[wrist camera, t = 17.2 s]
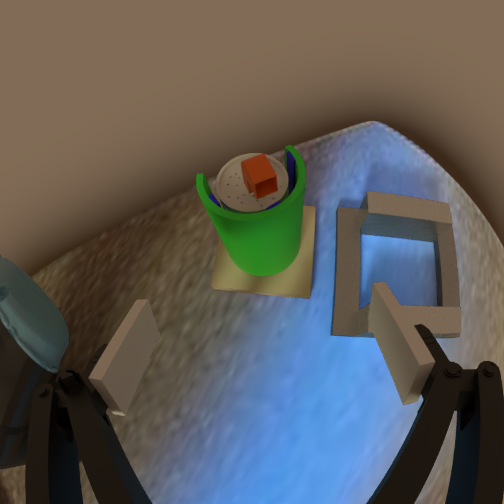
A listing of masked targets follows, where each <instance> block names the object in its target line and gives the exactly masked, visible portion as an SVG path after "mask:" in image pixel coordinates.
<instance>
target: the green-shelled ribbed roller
mask: <svg viewBox="0 0 504 504" xmlns="http://www.w3.org/2000/svg"><path fill="white" fill-rule="evenodd" d="M305 178H306V170H305V165H304V162H303V159H302V157H301V155H300V154H299V153H298V151H297V150H296V149H295V148H294V147H293V146H292V145H288V146H286V147H285V167H284V166H283V165H282V163H281V162H279V161H278V160H277V159H275V158H274V157H271V156H269V155H266V154H264V153H263V154H261V153H250V154H244V155H241V156H238V157H236V158H234V159H232V160H230V161H229V162H228V163H226V164H225V165H224V166H223V168H222V169H221V170H220V172H219V174H218V176H217V179H216V191H217V194H218V196H219V199H220V201H221V204H222V206H223V209H222V208H221V206H220V204H219V202H218V201H217V199H216V198H215V197H214V195H213V194H212V192H211V190H210V187H209V185H208V183H207V180H206V178H205V176H204V174H203V173H201V174H197V176H196V187H197V191H198V194H199V196H200V198H201V200H202V202H203V204H204V206H205V208H206V210H207V212H208V214H209V216H210V218H211V220H212V222H213V224H214V226H215V228H216V230H217V232H218V234H219V236H220V238H221V240H222V241H223V243H224V245H225V247H226V249H227V251H228V253H229V255H230V257H231V259H232V260H233V262H234V263H235V264H236V265H237V266H238V267H239V268H240V269H241V270H243V271H244V272H246V273H249V274H252V275H256V276H270V275H274V274H277V273H279V272H281V271H283V270H285V269H286V268H287V267H289V266H290V265H291V264H292V263H293V261H294V260H295V258H296V257H297V255H298V252H299V249H300V241H301V230H302V218H303V206H304V193H305Z"/></svg>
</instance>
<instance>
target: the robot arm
mask: <svg viewBox="0 0 504 504" xmlns="http://www.w3.org/2000/svg"><path fill="white" fill-rule="evenodd" d="M368 323H369V325H370V327H371V329H372V332H373V334H374V336H375V338H376V340H377V343H378V345H379V347H380V350H381V352H382V354H383V357H384V359H385V361H386V364H387V366H388V368H389V371H390V373H391V376H392V378H393V381H394V383H395V386H396V388H397V391H398V393H399V396H400V398H401V401H402V403H403V405H406V404H410V403H413V402H417V401H418V399H419V397H420V395H422V397H423V399H424V401H423V403H422V404H421V406H420V408H419V410H418V412H417V413H418V414H417V416H416V418H415V420H414V423H413V425H412V427H411V429H410V431H409V433H408V435H407V437H406V439H405V441H404V443H403V445H402V447H401V448H400V450H399V452H398V454H397V456H396V458H395V459H394V461H393V463H392V465H391V466H390V468H389V470H388V471H387V473H386V475H385V476H384V478H383V479H382V481H381V483H380V484H379V486H378V487H377V489H376V490H375V492H374V493H373V495H372V496H371V498H370V499H369V500H368V502H367V503H366V504H414V503H415V501H416V499H417V497H418V496H419V494H420V492H421V490H422V488H423V486H424V484H425V482H426V480H427V478H428V476H429V474H430V472H431V470H432V468H433V465H434V463H435V461H436V459H437V456H438V454H439V451H440V449H441V446H442V444H443V441H444V439H445V436H446V433H447V431H448V428H449V425H450V422H451V419H452V416H453V413H454V411H457V426H456V439H455V449H454V457H453V464H452V471H451V477H450V483H449V488H448V493H447V497H446V502H445V504H502V500H503V493H504V396H503V387H502V380H501V374H500V370H499V367H498V366H497V365H496V364H495V363H493V362H490V361H483V362H482V363H480V364H479V366H478V368H477V369H466V370H465V369H462V367H461V366H460V365H459V364H457V363H455V362H450V361H449V360H448V358H447V356H446V355H445V353H444V351H443V350H442V348H441V347H440V345H439V344H438V343H437V340H436V339H435V337H433V334H432V333H431V331H430V330H429V329H428V328H427V327H426V326H424V325H423V324H418V325H413V324H412V322H411V320H410V319H409V317H408V316H407V314H406V313H405V311H404V309H403V308H402V306H401V305H400V303H399V302H398V300H397V299H396V297H395V296H394V294H393V293H392V291H391V290H390V288H389V287H388V286H387V284H386V283H385V281H384V282H376V283H373V285H372V294H371V302H370V309H369V317H368ZM159 336H160V333H159V331H158V328H157V325H156V322H155V319H154V316H153V314H152V311H151V308H150V305H149V302H148V299H143V300H136V302H135V303H134V305H133V306H132V308H131V309H130V311H129V312H128V314H127V315H126V317H125V319H124V320H123V322H122V323H121V325H120V326H119V328H118V330H117V331H116V333H115V334H114V336H113V338H112V339H111V341H110V342H109V344H104V345H102V346H101V347H100V348H99V349H98V350H97V352H96V353H95V355H94V357H93V358H92V360H91V363H89V365H88V366H87V368H86V369H85V371H84V373H83V374H82V376H80V375H79V373H78V372H77V370H76V369H74V368H68V369H65V370H63V371H61V372H60V373H59V374H54V373H55V372H57V371H58V370H59V366H60V361H61V359H62V357H63V355H64V353H65V351H66V349H67V346H68V343H69V330H68V327H67V324H66V322H65V319H64V318H63V316H62V314H61V313H60V311H59V310H58V308H57V307H56V305H55V304H54V303H53V302H52V300H51V299H50V298H49V297H48V296H47V294H46V293H45V292H44V291H43V290H42V289H41V288H40V287H39V286H38V285H37V284H36V283H35V282H34V281H33V280H32V279H31V278H30V277H29V276H28V275H27V274H26V273H25V272H24V271H23V270H22V269H20V268H19V267H18V266H17V265H15V264H14V263H13V262H11V261H10V260H8V259H6V258H3V257H2V256H1V255H0V469H6V468H11V467H16V466H21V465H26V476H25V490H26V504H83V498H82V490H81V482H80V472H79V462H81V461H82V462H83V465H84V468H85V471H86V474H87V476H88V479H89V482H90V484H91V487H92V489H93V492H94V494H95V496H96V499H97V501H98V503H99V504H152V502H151V501H150V499H149V497H148V496H147V494H146V492H145V491H144V489H143V487H142V485H141V484H140V482H139V480H138V478H137V476H136V475H135V473H134V471H133V469H132V467H131V465H130V463H129V461H128V459H127V457H126V455H125V453H124V451H123V449H122V447H121V444H120V442H119V440H118V438H117V436H116V433H115V431H114V429H113V426H112V424H111V422H110V419H109V417H108V415H107V414H106V410H107V408H109V409H110V410H111V412H112V413H113V414H117V415H122V416H126V413H127V411H128V409H129V406H130V404H131V401H132V399H133V396H134V394H135V391H136V389H137V387H138V384H139V382H140V380H141V377H142V375H143V372H144V370H145V368H146V366H147V363H148V361H149V359H150V356H151V354H152V352H153V350H154V347H155V345H156V343H157V341H158V338H159Z"/></svg>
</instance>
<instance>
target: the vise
mask: <svg viewBox="0 0 504 504" xmlns="http://www.w3.org/2000/svg"><path fill="white" fill-rule="evenodd" d="M452 224H453V223H452V217H451V212H450V206H449V203H444V202H439V201H433V200H427V199H421V198H415V197H408V196H402V195H395V194H388V193H381V192H373V191H367V192H366V194H365V197H364V199H363V201H362V204H361V206H360V208H359V209H356V208H346V207H337V211H336V251H335V277H334V295H333V310H332V322H331V334H330V335H331V336H348V337H369V338H375V336H374V334H373V332H372V329H371V327H370V325H369V323H368V317H369V309H370V303H369V304H368V305H366V306H365V307H364V308H362V309H361V310H359V297H360V234H365V235H374V236H384V237H393V238H402V239H411V240H420V241H428V242H434V252H435V263H436V278H437V306H438V307H435V306H409V305H401V306H402V308H403V309H404V311H405V313H406V314H407V316H408V317H409V319H410V320H411V322H412V324H413V325H418V324H423V325H424V326H426V327H427V328H428V329H429V330H430V331H431V333H432V334H433V337H435V338H456V337H460V333H461V307H460V298H459V281H458V268H457V258H456V250H455V242H454V235H453V229H452Z"/></svg>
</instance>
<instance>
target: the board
mask: <svg viewBox="0 0 504 504" xmlns="http://www.w3.org/2000/svg"><path fill="white" fill-rule="evenodd" d="M315 209H316V206H303V218H302V230H301V241H300V249H299V252H298V255H297V257H296V258H295V260H294V261H293V263H292V264H291V265H290V266H289V267H287V268H286V269H285V270H283V271H281V272H279V273H277V274H274V275H270V276H256V275H252V274H249V273H246V272H244V271H243V270H241V269H240V268H239V267H238V266H237V265H236V264H235V263H234V262H233V260H232V259H231V257H230V255H229V253H228V251H227V249H226V247H225V245H224V243H223V241H222V240H221V238H220V237H219V243H218V248H217V253H216V259H215V264H214V270H213V275H212V281H211V287H212V288H213V289H219V290H228V291H236V292H245V293H254V294H264V295H274V296H284V297H295V298H306V299H309V298H310V293H311V280H312V266H313V251H314V232H315Z"/></svg>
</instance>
